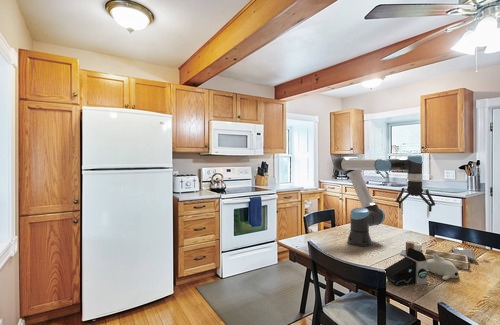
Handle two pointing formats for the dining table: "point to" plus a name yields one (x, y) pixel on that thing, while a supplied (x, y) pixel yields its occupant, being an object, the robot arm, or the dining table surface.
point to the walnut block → (409, 245)
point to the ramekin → (417, 246)
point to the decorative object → (408, 269)
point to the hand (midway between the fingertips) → (414, 215)
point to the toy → (442, 267)
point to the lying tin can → (464, 252)
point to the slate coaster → (403, 253)
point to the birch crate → (448, 257)
